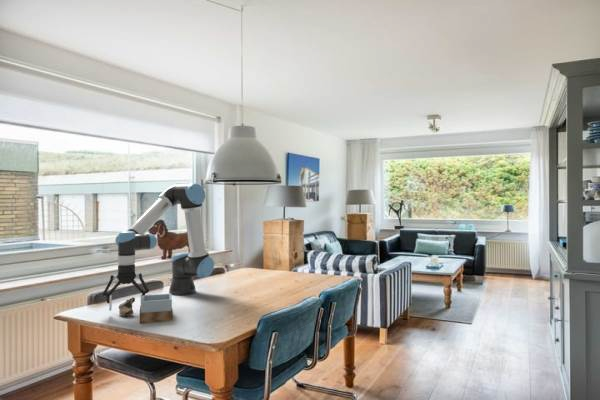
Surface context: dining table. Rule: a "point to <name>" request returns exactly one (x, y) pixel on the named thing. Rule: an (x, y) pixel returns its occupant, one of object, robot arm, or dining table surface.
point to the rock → (126, 308)
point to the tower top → (156, 303)
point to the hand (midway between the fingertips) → (126, 308)
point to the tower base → (156, 316)
